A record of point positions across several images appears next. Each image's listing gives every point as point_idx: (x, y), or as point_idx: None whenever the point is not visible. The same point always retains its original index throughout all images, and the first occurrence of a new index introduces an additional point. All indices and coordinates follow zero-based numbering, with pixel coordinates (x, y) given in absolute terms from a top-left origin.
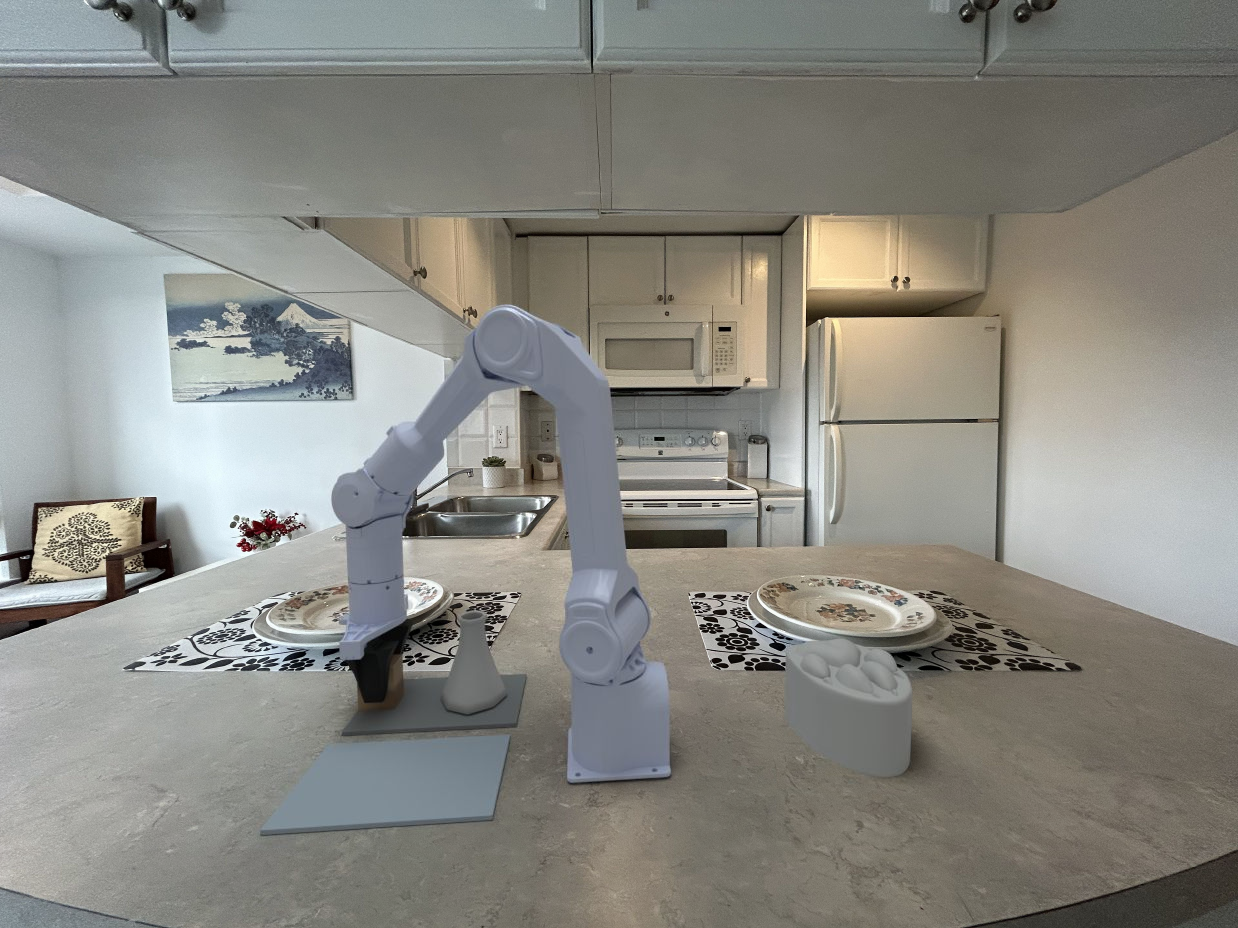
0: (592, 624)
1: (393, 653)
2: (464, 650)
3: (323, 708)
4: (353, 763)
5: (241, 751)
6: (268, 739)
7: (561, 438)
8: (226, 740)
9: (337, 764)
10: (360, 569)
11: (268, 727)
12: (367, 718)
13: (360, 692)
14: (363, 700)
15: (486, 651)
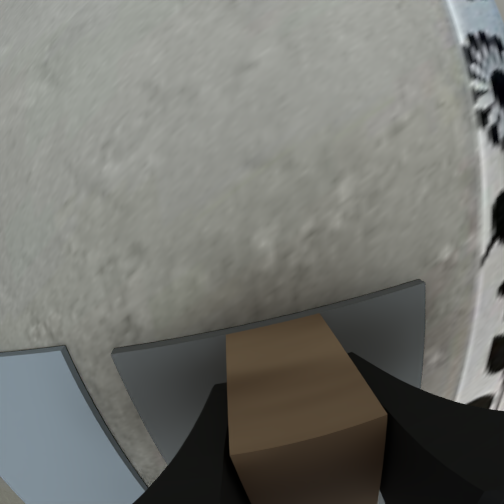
0: None
1: (385, 489)
2: None
3: (246, 176)
4: (43, 428)
5: (12, 116)
6: (57, 137)
7: None
8: (54, 29)
9: (28, 403)
10: None
11: (113, 78)
12: (190, 384)
13: (207, 402)
14: (211, 389)
15: None
